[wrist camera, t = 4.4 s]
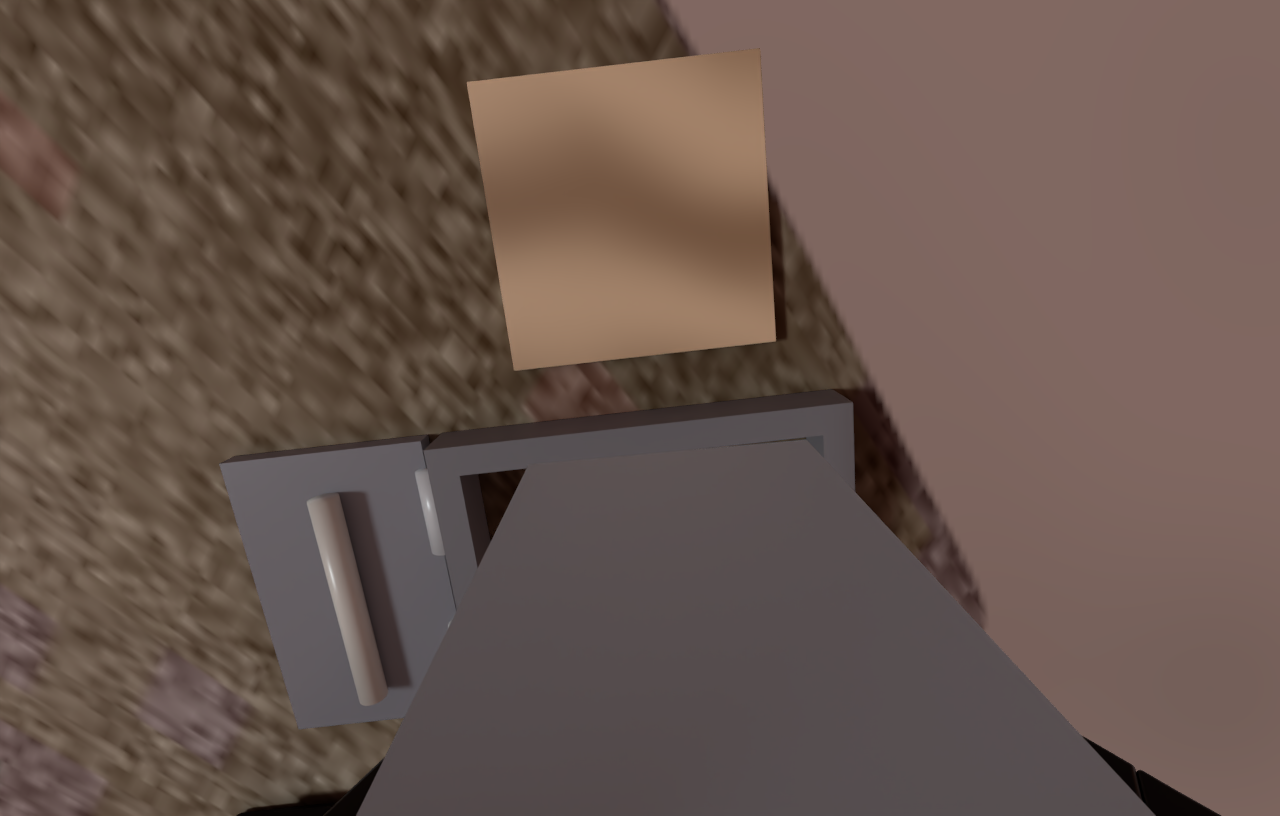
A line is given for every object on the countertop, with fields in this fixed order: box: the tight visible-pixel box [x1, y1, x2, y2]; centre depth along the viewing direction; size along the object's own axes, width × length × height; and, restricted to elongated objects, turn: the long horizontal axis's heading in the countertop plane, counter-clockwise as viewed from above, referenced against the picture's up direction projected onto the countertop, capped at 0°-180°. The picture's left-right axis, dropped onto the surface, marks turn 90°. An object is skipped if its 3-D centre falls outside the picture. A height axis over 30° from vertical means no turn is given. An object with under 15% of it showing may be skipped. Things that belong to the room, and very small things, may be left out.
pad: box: [467, 48, 776, 371], centre depth 19 cm, size 9×9×1 cm
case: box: [219, 389, 855, 729], centre depth 22 cm, size 11×22×2 cm, turn 96°
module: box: [356, 440, 1155, 816], centre depth 7 cm, size 5×5×8 cm
